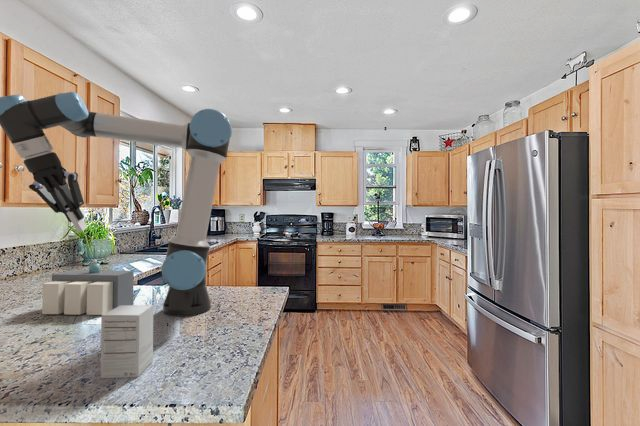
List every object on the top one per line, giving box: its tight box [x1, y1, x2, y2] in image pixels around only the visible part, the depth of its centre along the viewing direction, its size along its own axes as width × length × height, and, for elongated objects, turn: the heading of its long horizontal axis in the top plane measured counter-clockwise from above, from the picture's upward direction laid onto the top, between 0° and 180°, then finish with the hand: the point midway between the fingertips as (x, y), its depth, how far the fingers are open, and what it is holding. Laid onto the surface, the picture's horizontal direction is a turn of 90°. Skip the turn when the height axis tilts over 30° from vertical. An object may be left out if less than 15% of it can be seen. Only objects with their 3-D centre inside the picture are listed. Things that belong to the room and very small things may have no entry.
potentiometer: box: [88, 259, 101, 273], centre depth 112 cm, size 3×3×4 cm
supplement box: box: [100, 304, 154, 379], centre depth 68 cm, size 7×7×13 cm
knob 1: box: [41, 281, 71, 315], centre depth 109 cm, size 5×13×10 cm, turn 0°
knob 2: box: [86, 281, 113, 316], centre depth 109 cm, size 5×13×10 cm, turn 0°
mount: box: [51, 269, 135, 316], centre depth 110 cm, size 22×14×12 cm, turn 90°
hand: (83, 229), depth 98 cm, fingers closed
